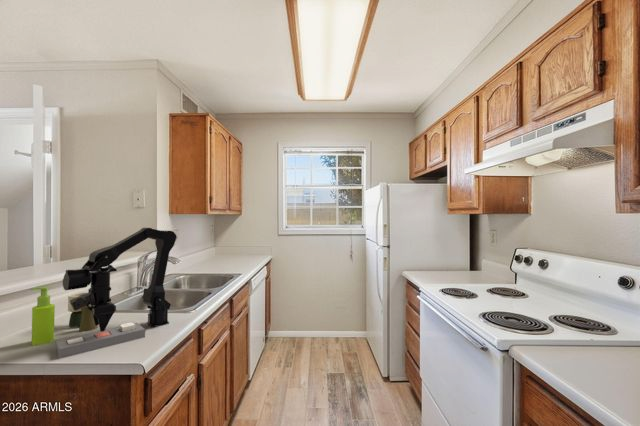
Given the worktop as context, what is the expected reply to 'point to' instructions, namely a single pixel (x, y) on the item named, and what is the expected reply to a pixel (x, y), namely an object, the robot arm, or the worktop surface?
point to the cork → (87, 320)
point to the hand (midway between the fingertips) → (99, 328)
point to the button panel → (97, 341)
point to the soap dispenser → (43, 319)
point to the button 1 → (75, 340)
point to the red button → (102, 334)
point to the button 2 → (127, 327)
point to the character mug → (75, 315)
